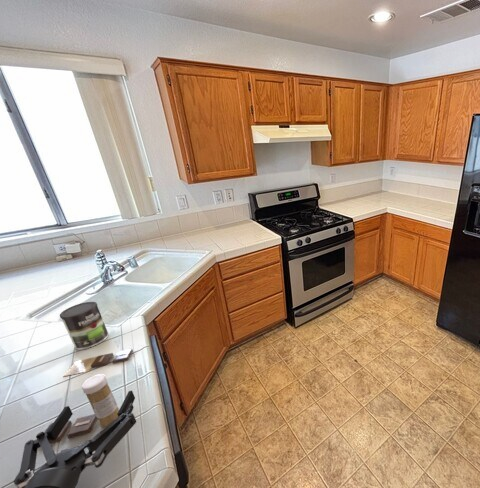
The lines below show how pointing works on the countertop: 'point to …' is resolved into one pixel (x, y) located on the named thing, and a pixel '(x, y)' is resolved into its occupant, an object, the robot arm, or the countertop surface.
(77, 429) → the brown chocolate squares
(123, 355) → the chocolate bar
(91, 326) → the coffee can
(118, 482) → the countertop surface
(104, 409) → the sprinkles bottle
